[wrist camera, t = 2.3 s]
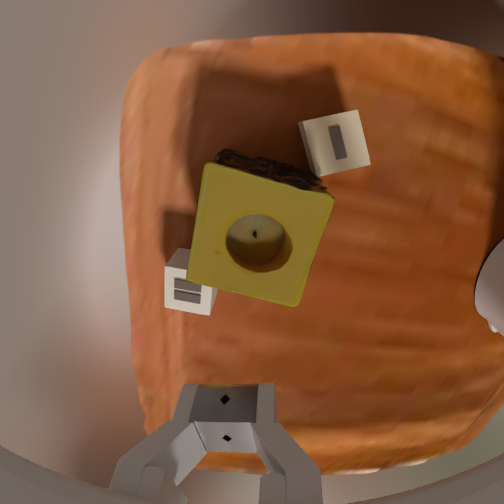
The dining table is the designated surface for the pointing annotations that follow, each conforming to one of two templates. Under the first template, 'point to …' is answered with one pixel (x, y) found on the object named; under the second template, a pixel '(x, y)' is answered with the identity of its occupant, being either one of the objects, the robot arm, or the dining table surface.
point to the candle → (257, 227)
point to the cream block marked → (186, 287)
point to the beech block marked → (334, 143)
